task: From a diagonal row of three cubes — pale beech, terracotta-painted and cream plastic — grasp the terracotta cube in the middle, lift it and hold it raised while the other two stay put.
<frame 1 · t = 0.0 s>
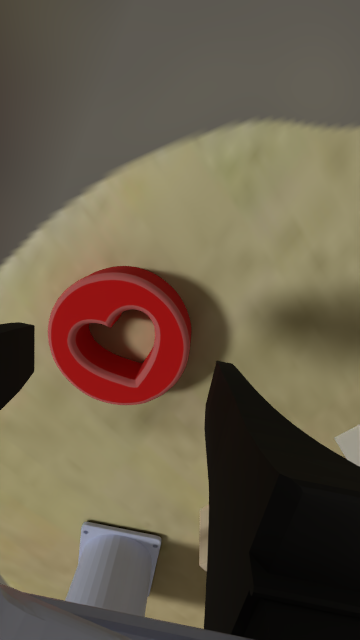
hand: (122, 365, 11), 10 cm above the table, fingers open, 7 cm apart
decorative ornament: (128, 328, 22), on the table
beech cube: (235, 513, 27), on the table
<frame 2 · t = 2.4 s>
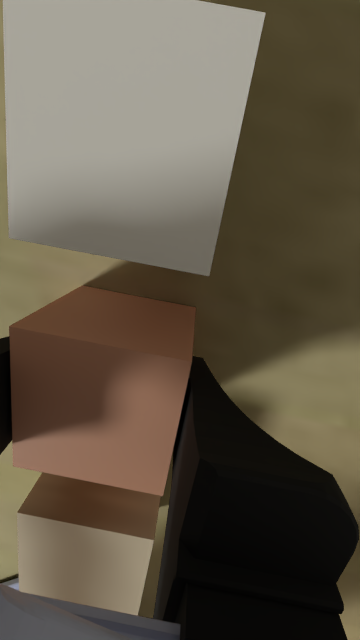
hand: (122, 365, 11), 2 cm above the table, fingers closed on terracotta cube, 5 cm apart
cream cube: (155, 174, 10), on the table
terracotta cube: (132, 348, 13), on the table, touching gripper
beech cube: (117, 466, 15), on the table
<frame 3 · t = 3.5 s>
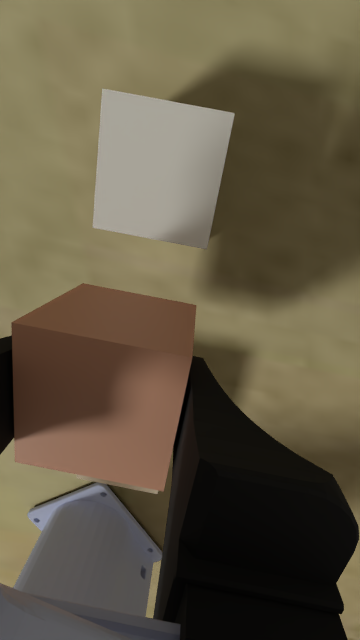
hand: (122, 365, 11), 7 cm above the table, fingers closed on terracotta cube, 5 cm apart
cream cube: (171, 186, 16), on the table
terracotta cube: (132, 345, 13), point 5 cm above the table, touching gripper
beech cube: (139, 402, 20), on the table
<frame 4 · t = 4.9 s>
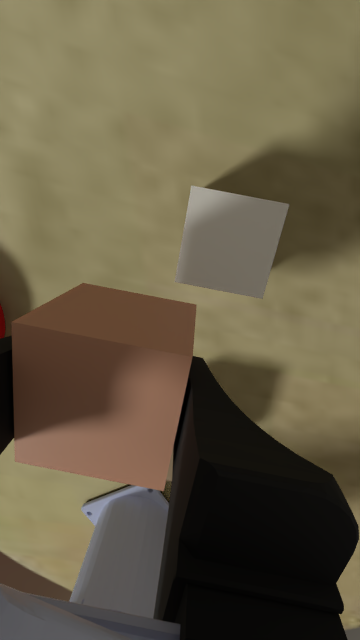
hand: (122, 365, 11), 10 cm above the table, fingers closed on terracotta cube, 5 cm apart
cream cube: (222, 238, 19), on the table
terracotta cube: (132, 345, 13), point 8 cm above the table, touching gripper
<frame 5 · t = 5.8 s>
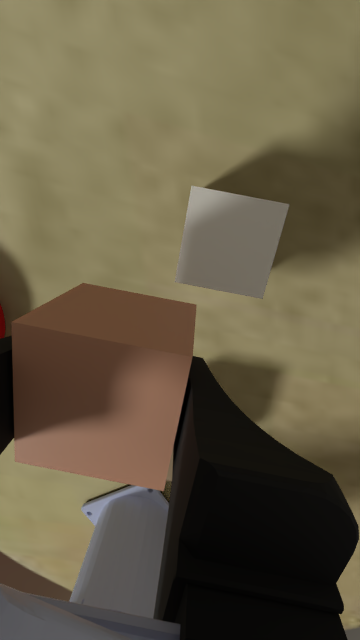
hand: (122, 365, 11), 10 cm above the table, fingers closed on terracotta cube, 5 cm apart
cream cube: (222, 238, 19), on the table
terracotta cube: (132, 345, 13), point 8 cm above the table, touching gripper
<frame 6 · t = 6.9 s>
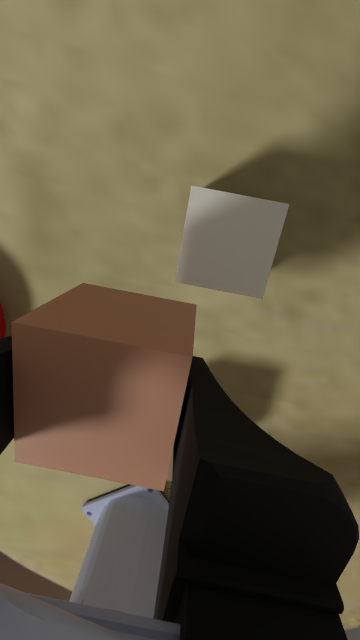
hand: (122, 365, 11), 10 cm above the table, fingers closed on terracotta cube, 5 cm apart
cream cube: (222, 238, 19), on the table
terracotta cube: (132, 345, 13), point 8 cm above the table, touching gripper
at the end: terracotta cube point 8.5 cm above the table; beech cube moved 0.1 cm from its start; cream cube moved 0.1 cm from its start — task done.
